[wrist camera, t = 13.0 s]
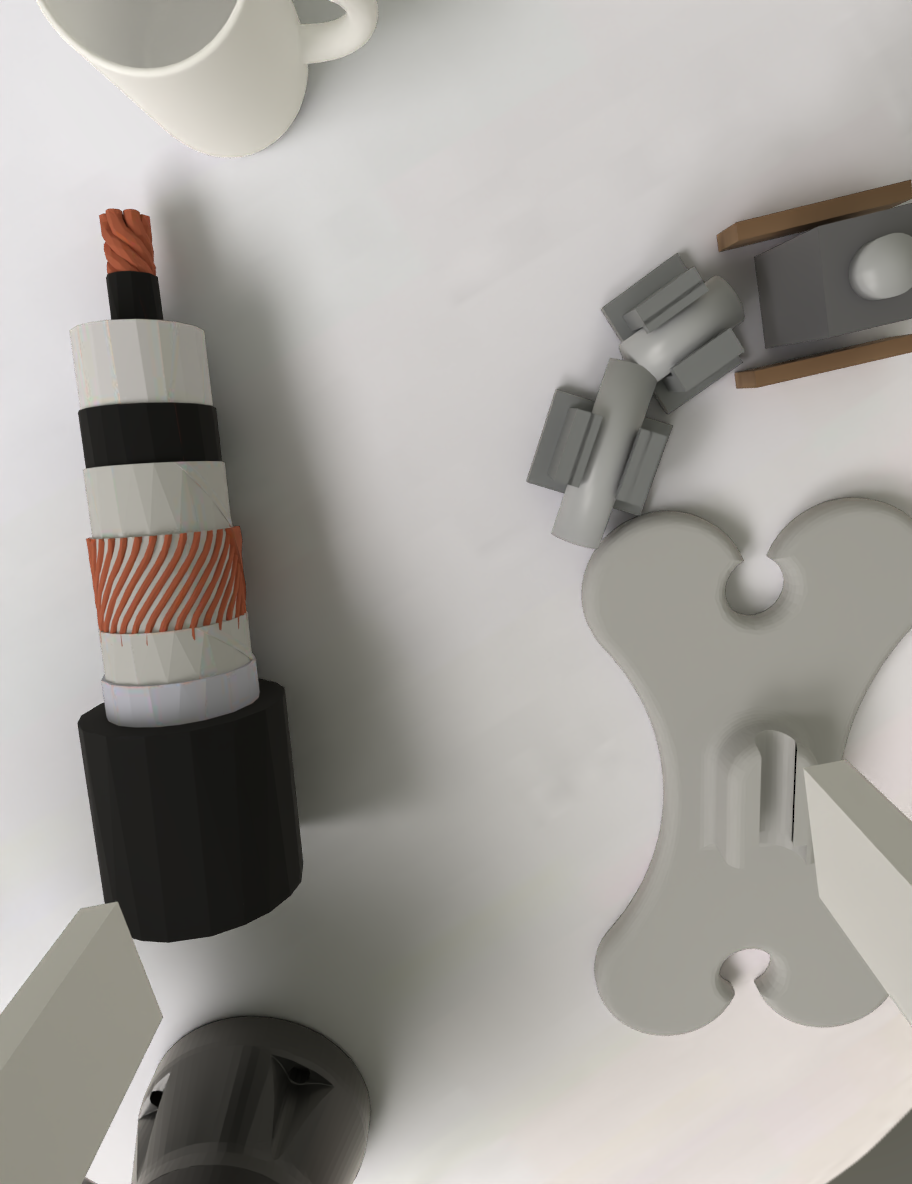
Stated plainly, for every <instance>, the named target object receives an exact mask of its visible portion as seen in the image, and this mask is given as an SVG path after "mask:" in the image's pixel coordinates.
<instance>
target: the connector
mask: <svg viewBox="0 0 912 1184" xmlns="http://www.w3.org/2000/svg"><path fill="white" fill-rule="evenodd" d="M754 260H755V268H756V276H757V284H758V292H759V300H760V308H761V316H762V324H763V332H764V340H765V348H772V347H778V346H784V345H790V344H796V343H802V342H808V341H814V340H820V339H826V338H831V337H836V336H840V335H844V334H848V333H852V332H857V331H861V330H865V329H869V328H873V327H878V326H882V325H886V324H890V323H894V322H899V321H903V320H907V319H911V318H912V203H910V204H906V205H902V206H898V207H894V208H890V209H886V210H882V211H878V212H874V213H870V214H866V215H862V216H858V217H854V218H850V219H846V220H842V221H838V222H834V223H830V224H826V225H822V226H818V227H816V228H814V229H812V230H810V231H808V232H805V233H803V234H801V235H799V236H797V237H795V238H793V239H791V240H789V241H787V242H785V243H783V244H781V245H779V246H777V247H775V248H772V249H770V250H768V251H766V252H764V253H762V254H760V255H758V256H756V257H754Z"/></svg>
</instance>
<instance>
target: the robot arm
mask: <svg viewBox="0 0 912 1184" xmlns="http://www.w3.org/2000/svg"><path fill="white" fill-rule="evenodd" d="M803 770H804V778H805V786H806V794H807V802H808V811H809V819H810V827H811V835H812V843H813V851H814V859H815V867H816V876H817V884H818V892H819V897H820V899H821V900H822V902H823V903H824V904H825V906H826V907H827V909H828V910H829V911H830V913H831V914H832V916H833V917H834V918H835V920H836V921H837V923H838V924H839V925H840V927H841V928H842V930H843V931H844V932H845V934H846V935H847V937H848V938H849V939H850V941H851V942H852V944H853V945H854V947H855V948H856V949H857V951H858V952H859V954H860V955H861V956H862V958H863V959H864V961H865V962H866V963H867V965H868V966H869V968H870V969H871V970H872V972H873V973H874V975H875V976H876V977H877V979H878V980H879V982H880V983H881V984H882V986H883V987H884V989H885V990H886V991H887V993H888V994H889V996H890V997H891V998H892V1000H893V1001H894V1003H895V1004H896V1006H897V1007H898V1008H899V1010H900V1011H901V1013H902V1014H903V1015H904V1017H905V1018H906V1020H907V1021H908V1022H909V1024H910V1025H911V1027H912V822H911V821H910V820H909V819H908V818H907V817H906V816H905V815H904V814H903V813H902V812H901V811H900V810H899V809H898V808H897V807H896V806H895V805H894V804H892V803H891V802H890V801H889V800H888V799H887V798H886V797H885V796H884V795H883V794H882V793H881V792H880V791H879V790H878V789H877V788H876V787H874V786H873V785H872V784H871V783H870V782H869V781H868V780H867V779H866V778H865V777H864V776H863V775H862V774H861V773H860V772H859V771H858V770H857V769H855V768H854V767H853V766H852V765H851V764H850V763H849V762H848V761H847V760H841V761H836V762H831V763H825V764H820V765H815V766H810V767H805V768H803ZM162 1018H163V1016H162V1013H161V1011H160V1008H159V1006H158V1003H157V1001H156V998H155V995H154V993H153V990H152V988H151V985H150V983H149V980H148V978H147V975H146V972H145V970H144V967H143V965H142V962H141V960H140V957H139V955H138V952H137V949H136V947H135V944H134V942H133V939H132V937H131V934H130V932H129V929H128V926H127V924H126V921H125V919H124V916H123V914H122V911H121V909H120V906H119V903H118V902H113V903H107V904H102V905H97V906H92V907H87V908H82V909H80V910H79V911H78V912H77V914H76V915H75V916H74V918H73V919H72V920H71V922H70V923H69V924H68V926H67V927H66V928H65V930H64V931H63V932H62V934H61V935H60V936H59V938H58V939H57V940H56V942H55V943H54V944H53V946H52V947H51V948H50V950H49V951H48V952H47V954H46V955H45V956H44V958H43V959H42V960H41V962H40V963H39V964H38V966H37V967H36V968H35V970H34V971H33V972H32V974H31V975H30V976H29V977H28V979H27V980H26V981H25V983H24V984H23V985H22V987H21V988H20V989H19V991H18V992H17V993H16V995H15V996H14V997H13V999H12V1000H11V1001H10V1003H9V1004H8V1005H7V1007H6V1008H5V1009H4V1011H3V1012H2V1013H1V1015H0V1184H97V1183H95V1182H93V1181H91V1180H90V1179H88V1178H86V1177H85V1176H86V1174H87V1172H88V1170H89V1168H90V1166H91V1164H92V1162H93V1160H94V1157H95V1155H96V1153H97V1151H98V1149H99V1147H100V1145H101V1143H102V1141H103V1139H104V1137H105V1135H106V1133H107V1131H108V1129H109V1127H110V1125H111V1123H112V1121H113V1119H114V1116H115V1114H116V1112H117V1110H118V1108H119V1106H120V1104H121V1102H122V1100H123V1098H124V1096H125V1094H126V1092H127V1090H128V1088H129V1086H130V1084H131V1082H132V1080H133V1078H134V1075H135V1073H136V1071H137V1069H138V1067H139V1065H140V1063H141V1061H142V1059H143V1057H144V1055H145V1053H146V1051H147V1049H148V1047H149V1045H150V1043H151V1041H152V1039H153V1037H154V1034H155V1032H156V1030H157V1028H158V1026H159V1024H160V1022H161V1020H162ZM369 1122H370V1100H369V1095H368V1091H367V1088H366V1085H365V1082H364V1080H363V1078H362V1076H361V1074H360V1073H359V1071H358V1069H357V1068H356V1066H355V1065H354V1064H353V1062H352V1061H351V1060H350V1059H349V1057H348V1056H347V1055H346V1054H345V1053H344V1052H343V1051H342V1050H341V1049H339V1048H338V1047H337V1046H336V1045H335V1044H333V1043H332V1042H331V1041H329V1040H328V1039H326V1038H325V1037H323V1036H322V1035H320V1034H318V1033H316V1032H314V1031H312V1030H310V1029H308V1028H306V1027H303V1026H301V1025H298V1024H295V1023H292V1022H288V1021H284V1020H280V1019H274V1018H267V1017H236V1018H230V1019H224V1020H220V1021H216V1022H213V1023H210V1024H207V1025H205V1026H202V1027H200V1028H198V1029H196V1030H194V1031H192V1032H190V1033H189V1034H187V1035H186V1036H184V1037H183V1038H182V1039H180V1040H179V1041H178V1042H177V1043H176V1044H174V1045H173V1046H172V1047H171V1048H170V1049H169V1051H168V1052H167V1053H166V1054H165V1056H164V1057H163V1058H162V1060H161V1062H160V1063H159V1065H158V1067H157V1069H156V1071H155V1074H154V1076H153V1078H152V1080H151V1082H150V1084H149V1087H148V1089H147V1091H146V1093H145V1096H144V1098H143V1102H142V1105H141V1108H140V1113H139V1118H138V1127H137V1136H136V1146H135V1155H134V1164H133V1173H132V1183H131V1184H353V1182H354V1180H355V1178H356V1176H357V1174H358V1172H359V1170H360V1167H361V1165H362V1161H363V1158H364V1155H365V1150H366V1145H367V1137H368V1130H369Z"/></svg>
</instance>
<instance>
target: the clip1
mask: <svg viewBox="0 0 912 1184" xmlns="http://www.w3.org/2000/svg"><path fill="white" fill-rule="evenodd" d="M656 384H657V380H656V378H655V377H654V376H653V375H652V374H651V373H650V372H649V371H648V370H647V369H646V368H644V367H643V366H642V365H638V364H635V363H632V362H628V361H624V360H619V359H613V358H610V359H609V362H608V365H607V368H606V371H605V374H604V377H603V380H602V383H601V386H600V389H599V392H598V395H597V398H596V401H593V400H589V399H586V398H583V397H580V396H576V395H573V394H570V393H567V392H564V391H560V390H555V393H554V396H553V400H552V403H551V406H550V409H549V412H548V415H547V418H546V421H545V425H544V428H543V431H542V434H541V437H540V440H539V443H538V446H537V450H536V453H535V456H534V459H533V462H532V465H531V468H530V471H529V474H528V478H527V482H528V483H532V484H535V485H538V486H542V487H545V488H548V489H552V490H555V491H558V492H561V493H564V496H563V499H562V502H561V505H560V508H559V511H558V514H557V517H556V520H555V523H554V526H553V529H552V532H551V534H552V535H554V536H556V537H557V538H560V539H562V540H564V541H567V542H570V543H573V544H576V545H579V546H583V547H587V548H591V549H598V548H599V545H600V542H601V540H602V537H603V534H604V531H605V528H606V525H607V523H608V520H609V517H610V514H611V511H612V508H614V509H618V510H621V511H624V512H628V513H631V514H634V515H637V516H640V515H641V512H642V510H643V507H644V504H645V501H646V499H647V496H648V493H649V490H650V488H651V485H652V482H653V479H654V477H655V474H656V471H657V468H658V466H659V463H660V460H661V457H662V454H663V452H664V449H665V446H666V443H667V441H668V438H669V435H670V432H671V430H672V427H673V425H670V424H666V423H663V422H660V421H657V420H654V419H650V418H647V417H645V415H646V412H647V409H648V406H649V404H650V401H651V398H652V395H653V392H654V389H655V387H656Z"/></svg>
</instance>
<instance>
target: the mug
mask: <svg viewBox="0 0 912 1184" xmlns="http://www.w3.org/2000/svg"><path fill="white" fill-rule="evenodd" d="M328 1H331V2H333V3H336V4H338V5H339V6H341V7H342V8H343V9H344V10H345V11H346V13H345V14H344V15H343V16H342V17H340V18H338V19H335V20H332V21H329V22H323V23H315V24H300V21H299V18H298V15H297V12H296V10H295V7H294V5H293V2H292V0H36V2H37V3H38V5H39V7H40V9H41V11H42V12H43V14H44V15H45V17H46V18H47V20H48V21H49V22H50V24H51V25H52V27H53V28H54V29H55V30H56V31H57V33H58V34H59V35H60V36H61V37H62V38H63V39H64V40H65V41H66V42H67V43H68V44H69V45H70V46H71V47H72V48H74V49H75V50H76V51H77V52H78V53H79V54H80V55H81V56H82V57H84V58H85V59H86V60H87V61H88V62H89V63H90V64H91V65H93V66H94V67H95V68H96V69H97V70H98V71H99V72H100V73H101V74H103V75H104V76H105V77H106V78H107V79H108V80H109V81H110V82H112V83H113V84H114V85H115V86H116V87H117V88H118V89H119V90H120V91H122V92H123V93H124V94H125V95H126V96H127V97H128V98H129V99H131V100H132V101H133V102H134V103H135V104H136V105H137V106H138V107H139V108H141V109H142V110H143V111H144V112H145V113H146V114H147V115H148V116H149V117H151V118H152V119H153V120H154V121H155V122H156V123H157V124H158V125H160V126H161V127H162V128H163V129H164V130H165V131H166V132H167V133H169V134H170V135H171V136H172V137H174V138H175V139H177V140H178V141H180V142H181V143H183V144H184V145H186V146H188V147H190V148H192V149H194V150H196V151H198V152H201V153H204V154H207V155H210V156H215V157H221V158H237V157H244V156H248V155H252V154H254V153H257V152H259V151H262V150H263V149H265V148H267V147H269V146H270V145H272V144H273V143H274V142H275V141H277V140H278V139H279V138H280V137H281V136H282V135H283V134H284V133H285V132H286V131H287V130H288V128H289V127H290V125H291V124H292V123H293V121H294V120H295V118H296V116H297V114H298V112H299V110H300V107H301V105H302V102H303V99H304V95H305V91H306V87H307V80H308V64H310V63H320V62H326V61H331V60H335V59H339V58H342V57H345V56H347V55H349V54H351V53H353V52H355V51H356V50H358V49H359V48H361V47H362V46H364V45H365V44H366V43H367V41H368V40H369V39H370V38H371V36H372V34H373V32H374V30H375V28H376V25H377V20H378V5H377V1H376V0H328Z"/></svg>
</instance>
